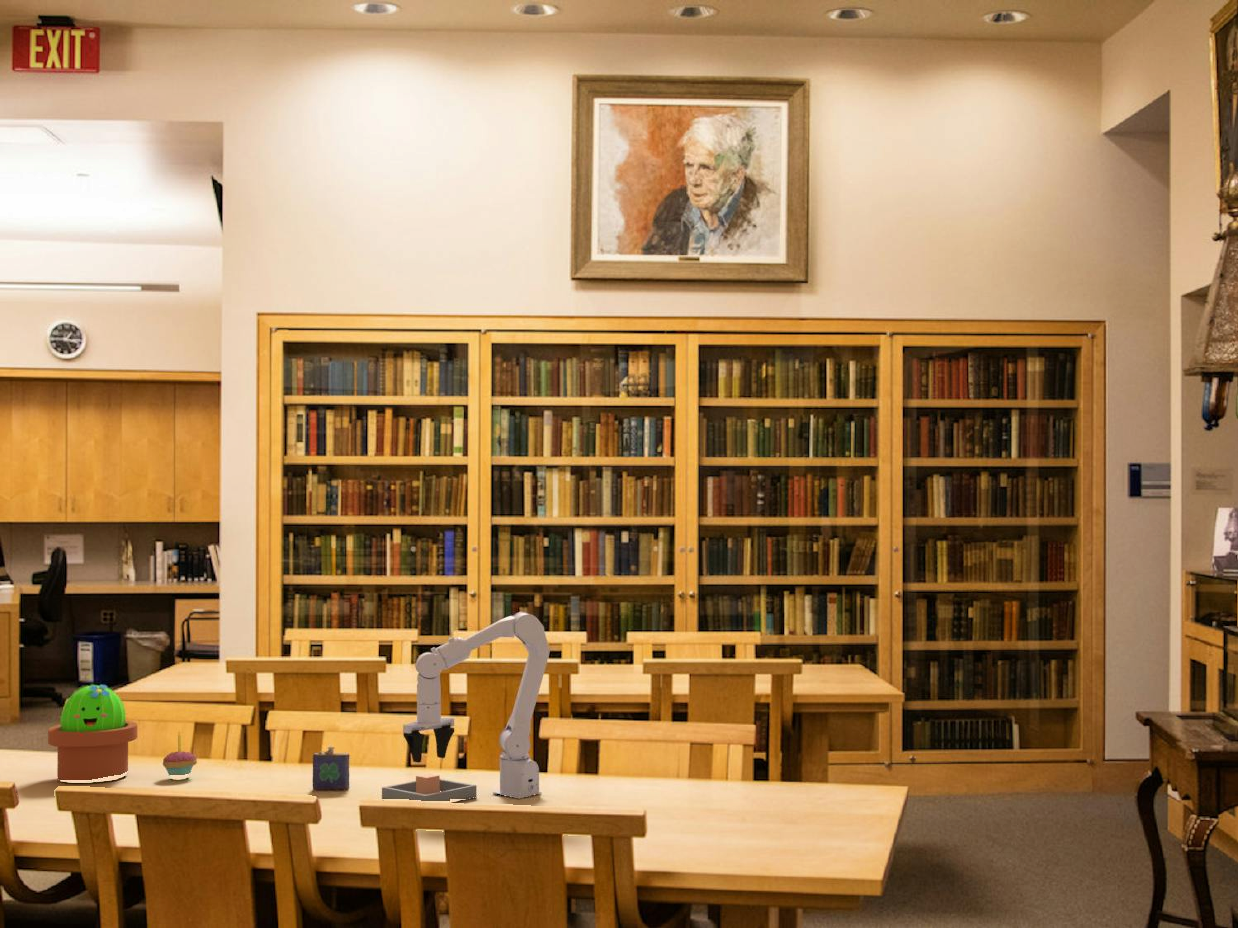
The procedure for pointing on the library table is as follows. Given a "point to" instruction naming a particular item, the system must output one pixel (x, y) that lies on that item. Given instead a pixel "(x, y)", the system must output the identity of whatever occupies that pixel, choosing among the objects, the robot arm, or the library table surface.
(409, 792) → the bin
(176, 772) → the cupcake
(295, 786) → the library table surface
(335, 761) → the flask
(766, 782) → the library table surface
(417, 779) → the block
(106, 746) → the potted cactus
